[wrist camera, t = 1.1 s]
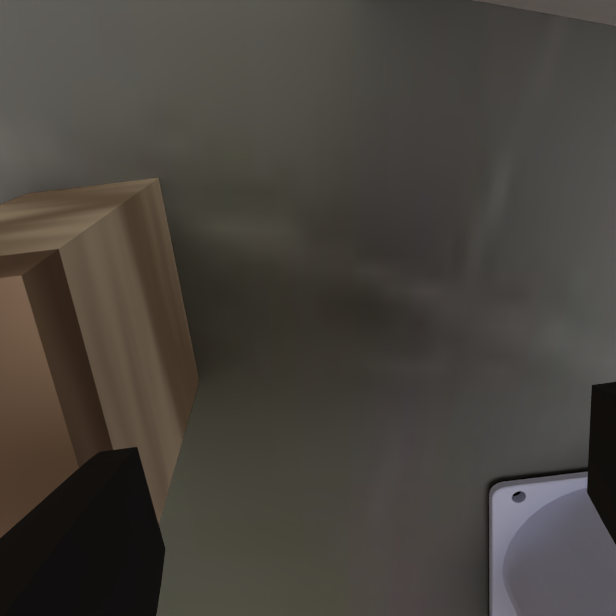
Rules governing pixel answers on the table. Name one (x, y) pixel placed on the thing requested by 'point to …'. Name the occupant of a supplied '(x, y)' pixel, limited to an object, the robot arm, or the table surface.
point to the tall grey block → (567, 8)
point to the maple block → (89, 339)
